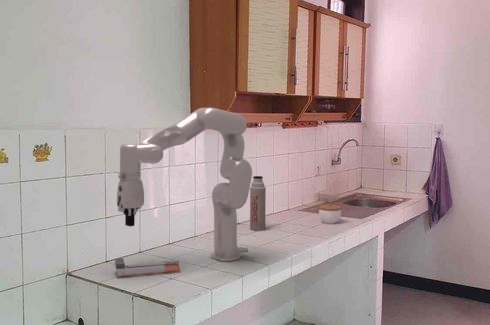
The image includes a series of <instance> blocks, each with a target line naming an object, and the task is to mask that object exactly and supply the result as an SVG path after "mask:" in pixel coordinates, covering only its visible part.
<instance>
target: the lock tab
mask: <svg viewBox="0 0 490 325" xmlns="http://www.w3.org/2000/svg"><path fill="white" fill-rule="evenodd" d="M125 264H126V263H125V260H124V258H114V265H115V270H116V269H121V268H125V266H126V265H125Z"/></svg>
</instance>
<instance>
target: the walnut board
mask: <svg viewBox="0 0 490 325" xmlns="http://www.w3.org/2000/svg"><path fill="white" fill-rule="evenodd" d="M128 265H129V264H127V265H125V268H128ZM115 270H116V272H117V269H116V268H115ZM169 274H170V275H171V274H173V275H174V274H182V270H180V268H179V269H178V272H169V273H157V274H147V275H136V276H125V277H118V276H117V279H127V278H129V279H130V278H139V277H150V276H159V275H161V276H162V275H169Z"/></svg>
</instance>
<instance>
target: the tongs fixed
mask: <svg viewBox="0 0 490 325" xmlns="http://www.w3.org/2000/svg"><path fill="white" fill-rule="evenodd" d="M169 272H178V265H177V264H167V265H156V266H145V267H134V268H121V269H117V271H116V276H117V278H118V277H125V276H136V275H147V274H157V273H169Z"/></svg>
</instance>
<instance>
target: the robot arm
mask: <svg viewBox="0 0 490 325" xmlns="http://www.w3.org/2000/svg"><path fill="white" fill-rule="evenodd" d="M247 122H248V121H247V119H246V118H245V116H243V115H241V113H240V114H239V113H236V112H231V111H228V110H224V109H220V108H216V107H200V108H198V109H197V108H196V110H194V111H193V112H191V113H189V114H188V115H186V116H184V117H183V118H182V119H179V121H177V122H175V123H173V124H172V125H170V126H168V127H166V128H164V129H162V130H160V131H158V132H156V133H154V134H152V135H151V136H149V137H148V138H146V139H145V140H143V141H142V142H140V143H123V144H121V145H120V148H119V175H118V179H119V180H118V185H117V192H116V206H117V207H118V209H117V211H118V212H121V213H123V215H124V216H125V217H124V219H125V221H124V224H125V226H126V227H134V226H135V220H136V219H135V216H136V215H137V212H138V210H140V209H142V207H143V206H144V205H145V191H144V184H143V180H141V176H142V174H141V172H142V171H141V170H142V169H141V166H142V164H141V163H143V164H151V165H154V164H157V163H159V162H160V161H162V159H163V157H164V151H165V150H167V149H170V148H172V147H177V146H181V145H184V144H186V143H189V141H191V140H192V139H194V138H195V137H197V136H199V135H200V134H202V133H203V132H204V131H206V130H212V131H215V132H216V131H217V132H218V133H220V135H221V137H222V139H223V143H224V144H223V152H222V157H221V162H220V166H219V174H220V175H221V178H223V179H225V180H228V182H220V183H217V184H216V185H215V186H214V187H213V189H212V192H211V200H212V205H213V252H212V253H211V254H210V259H211V260H213V261H216V262H234V261H237V260H239V259H241V254H242V253H249V252H248V251H249V248H248V247H243V246H240V247H239V246H238V245H237V244H238V240H237V239H238V231H237V230H238V229H237V228H238V223H237V222H238V215H237V214H238V212H237V210H238V209H241V208H243V207H244V206H245V204H246V203H247V200H248V197H249V192H250V187H251V184H252V178H253V177H252V176H253V168H252V164H251V163H250V162H249V161H248V160H246V159H245V158H244V154H245V144H246V143H245V139H244V136H243V134H244V133H245V132H246V130H247V128H248V123H247Z"/></svg>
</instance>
